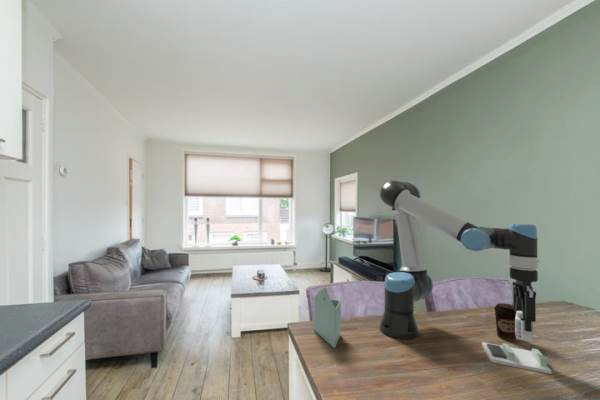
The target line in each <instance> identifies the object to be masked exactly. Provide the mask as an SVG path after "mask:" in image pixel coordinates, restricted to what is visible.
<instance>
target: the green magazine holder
mask: <svg viewBox="0 0 600 400" xmlns="http://www.w3.org/2000/svg"><path fill="white" fill-rule="evenodd" d="M313 301H314V302H313V305H314V306H313V309H314V310H313V330H314V331H315V332H316V334H318V335H319V336H321V338H322V339H323V340H324V341H326V343H328V345H330V346H331V347H332V348H334V349H335V348H336V346H337V344H338V343H339V340H340V336H341V321H342V320H341V318H342V315H341V314H342V301H341V300H339V299H338V300H337V299H334V298H333V299H332V298H331V297H330V294H329V292H328V290H327V287H326V286H323V287H322V289H321V290H319V291H318V293H316V294H315V295H314V300H313Z"/></svg>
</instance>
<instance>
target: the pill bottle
mask: <svg viewBox="0 0 600 400" xmlns="http://www.w3.org/2000/svg"><path fill="white" fill-rule="evenodd" d="M516 314H517V316H516V317H515V335H516V338H519V339H521V340H522V321H521V320H520V318H523V315H522V311H517V312H516ZM532 335H533V336H534V322H532Z"/></svg>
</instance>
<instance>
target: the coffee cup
mask: <svg viewBox="0 0 600 400" xmlns="http://www.w3.org/2000/svg"><path fill="white" fill-rule="evenodd" d="M493 309H494V315H495V328H496V335H497V337H498V338H500V339H502V340H505V341H509V342H510V341H511V342H513V341H514V342H515V341H517V336H516V335H515V317H516V313H515V310H514V309H513V304H511V303H510V304H509V303H501V302H500V303H499V302H498V303H496V305H495V306H494V308H493Z"/></svg>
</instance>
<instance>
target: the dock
mask: <svg viewBox="0 0 600 400" xmlns="http://www.w3.org/2000/svg"><path fill="white" fill-rule="evenodd" d="M481 346H482V348H483V349H484V351H485V354H486V355H487V357H488V360H489V361H490V362H491V363H494V364H500V365H505V366H509V367H515V368H520V369H524V370H528V371H529V370H531V371H535V372H539V373H545V374H551V375H552V370H551V369H550V368H549V366H548V358H546V357H545V356H544V355H543V354H542V352H541V351H540V350H539V349H538V348H532V347H531V350H527V349H522V348H518V347H517V348H516V347H512V346H510V345H509V344H508V343H503V342H502V343H501V345H500V344H494V343H489V342H484V341H482V342H481Z"/></svg>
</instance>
